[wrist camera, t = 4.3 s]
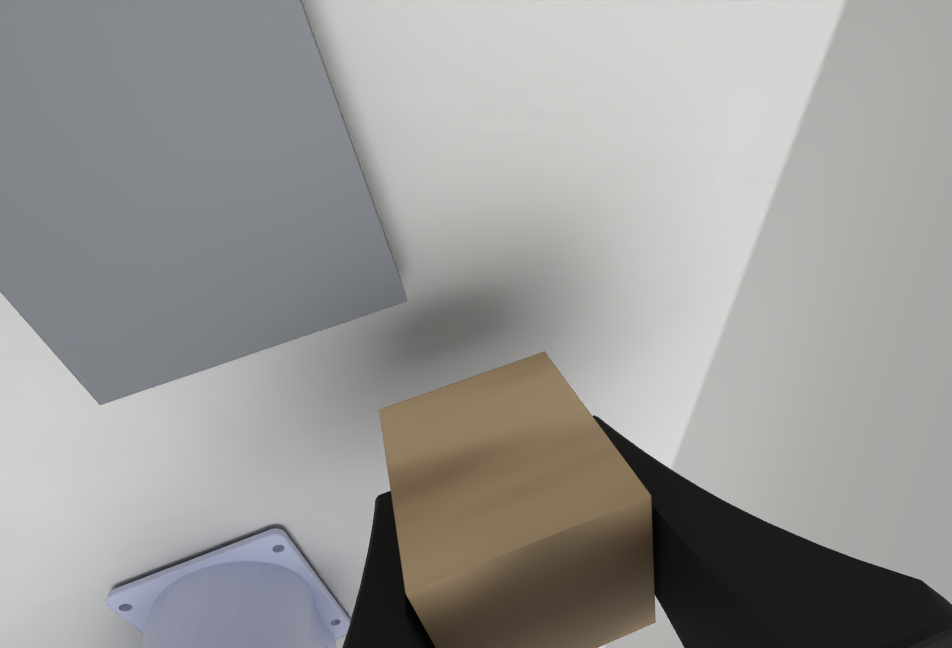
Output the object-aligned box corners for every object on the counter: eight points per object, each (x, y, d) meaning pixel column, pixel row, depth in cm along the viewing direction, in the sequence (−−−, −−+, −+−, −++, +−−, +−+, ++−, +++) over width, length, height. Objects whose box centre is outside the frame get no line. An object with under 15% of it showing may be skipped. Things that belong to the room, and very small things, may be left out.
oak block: (564, 465, 15) (655, 622, 11) (427, 518, 15) (466, 704, 10) (544, 351, 13) (651, 495, 9) (379, 409, 12) (405, 593, 8)
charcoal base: (396, 267, 18) (407, 300, 16) (133, 354, 17) (100, 405, 15) (282, -53, 13) (270, -81, 11) (-106, 43, 12) (-222, 39, 10)
